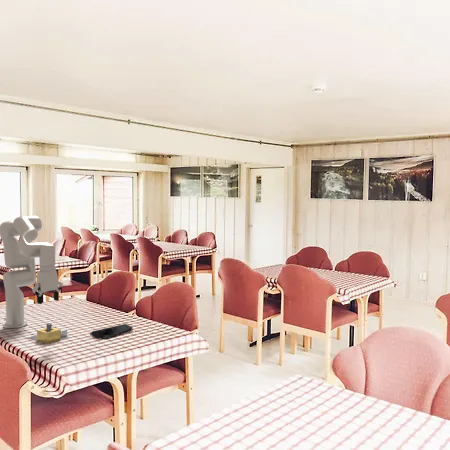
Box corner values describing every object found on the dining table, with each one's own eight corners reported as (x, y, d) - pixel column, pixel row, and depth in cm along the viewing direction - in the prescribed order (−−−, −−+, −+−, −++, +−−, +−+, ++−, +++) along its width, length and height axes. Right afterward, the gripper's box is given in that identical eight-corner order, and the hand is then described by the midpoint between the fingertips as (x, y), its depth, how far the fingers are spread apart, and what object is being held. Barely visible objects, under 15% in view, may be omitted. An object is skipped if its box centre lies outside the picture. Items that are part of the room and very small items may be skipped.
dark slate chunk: (136, 332, 267) (136, 323, 266) (103, 341, 250) (103, 332, 250) (119, 327, 277) (119, 318, 276) (86, 335, 260) (86, 326, 260)
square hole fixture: (26, 340, 248) (25, 328, 248) (51, 333, 261) (50, 322, 260) (48, 347, 238) (47, 334, 238) (72, 339, 251) (72, 327, 250)
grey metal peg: (45, 339, 245) (45, 324, 245) (49, 338, 247) (49, 323, 247) (48, 340, 244) (48, 324, 244) (52, 339, 246) (52, 323, 246)
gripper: (57, 265, 254) (57, 298, 255) (27, 270, 239) (28, 304, 241) (66, 267, 249) (67, 299, 251) (37, 271, 235) (37, 306, 236)
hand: (48, 302), depth 246 cm, fingers open, 9 cm apart
